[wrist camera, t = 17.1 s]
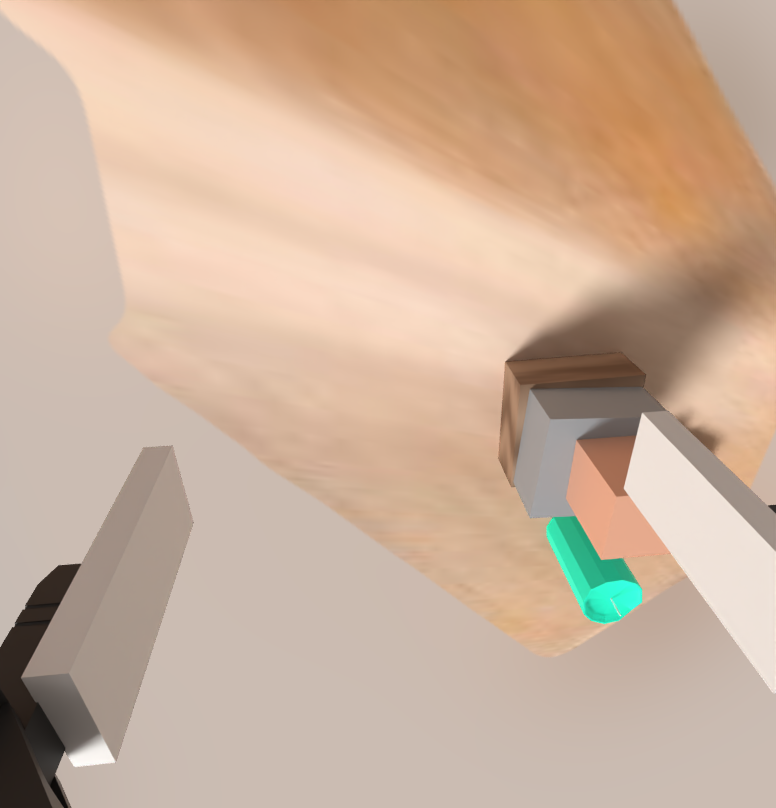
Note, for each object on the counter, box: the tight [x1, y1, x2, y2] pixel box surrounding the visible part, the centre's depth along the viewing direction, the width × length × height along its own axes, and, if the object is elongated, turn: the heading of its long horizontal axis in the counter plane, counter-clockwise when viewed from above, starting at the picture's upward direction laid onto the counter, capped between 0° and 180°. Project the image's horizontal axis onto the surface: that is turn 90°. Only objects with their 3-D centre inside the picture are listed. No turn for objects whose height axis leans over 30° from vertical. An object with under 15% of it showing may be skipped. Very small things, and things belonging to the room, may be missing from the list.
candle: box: [547, 516, 642, 624], centre depth 56 cm, size 6×6×12 cm
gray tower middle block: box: [513, 387, 667, 518], centre depth 47 cm, size 10×10×5 cm
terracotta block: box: [566, 435, 671, 560], centre depth 42 cm, size 6×6×7 cm
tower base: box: [498, 353, 646, 487], centre depth 51 cm, size 11×11×5 cm
